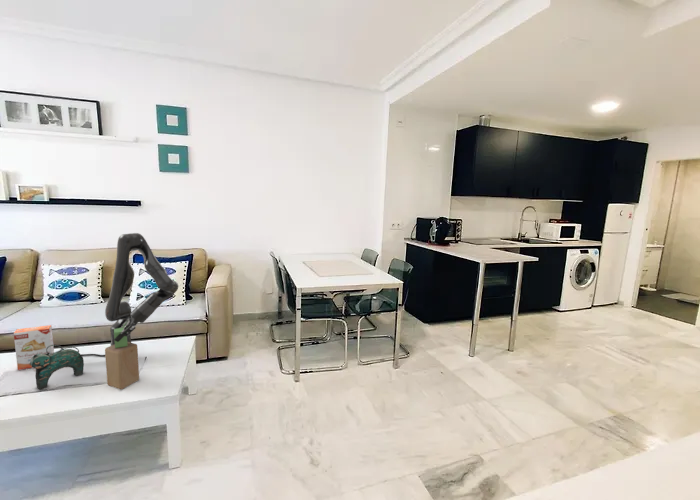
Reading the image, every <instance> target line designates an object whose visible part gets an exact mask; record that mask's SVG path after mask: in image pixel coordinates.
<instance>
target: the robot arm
mask: <svg viewBox="0 0 700 500" xmlns="http://www.w3.org/2000/svg"><path fill="white" fill-rule="evenodd" d="M134 251H138V252H139V253H140V254H141V255H142V257H143V266H144V269H145V271H146V273H148V274H149V276H150V277H151V278H152V279H153V280H154V283H155V284H156V286H157V287H158V288H159V289H158V290H157V291H153V292H151V293H150V294H149V295H148V296H147V297H146V298H145V299H144V300H143V301H141V302H140V303H139V304H138V305H137V306H136V307H135V308H134V309H133V310H132V306H131V305H130V303H129V302H127V301H125V300H123V299H124V297H125V295H126V294H127V293H128V292H129V290H130V289H131V288H132V287H133V283H134V279H135V269H134V268H133V267H132V265H131V263H130V254H131V252H134ZM115 259H116V260H115V266H114V270H113V275H112V280H111V281H112V283H111V288H110V292H109V297H108V300H107V303H106V305H105V311H104V316H105V319H106V320H107V321H109V322H114V323H113V324H112V325H111V326H110V328H109V331H110V346H112V345H115V341H117V342H119V341H120V340H121V339H122V338H123V337H124V336H127V342H130V343H132V334H131V333H132V332H133V331H135V329H136V328H137V324H138V323H140V324H143V323H144V322H146V321H147V320H148V319H149V318H150V317H151V316H152V315H153V313H155V311H156V310H157V309H158V308H159V307H160V306H161V305H162V304H163V302H165V301H166V300H169V298H171V297H172V296H174V295H175V293H176V292H177V291H178V290H179V283H178V281H176V280H174V279H172V278H171V277H170V276H169V275H168V272H167V270H166V269H165V268H164V266H163V265H162V264H161V262H160V261H158V259H157V257H156V256H155V254H154V251H152V248H151V247H150V245H149V244H148V242H147V239H146V238H145V237H144V235H142V234H141V233H139V232H131V233H123V234H120V235H119V237H118V239H117V243H116V258H115ZM122 300H123V301H122ZM118 328H123V331H122V332H121V333H120V334H119V335H118V336H117V337H116V338H115V339H114V329H118ZM126 331H127V332H126ZM125 332H126V333H125ZM53 345H55V346H54V347H58V348H59V349H60V350H61V349H63V350H64V347H63V346H61V344H54V343H53ZM80 355H81V356H82V357H86V356H88V357H89V356H96V357H100V358H101V357H105V354H97V353H82V354H81V353H80Z"/></svg>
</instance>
